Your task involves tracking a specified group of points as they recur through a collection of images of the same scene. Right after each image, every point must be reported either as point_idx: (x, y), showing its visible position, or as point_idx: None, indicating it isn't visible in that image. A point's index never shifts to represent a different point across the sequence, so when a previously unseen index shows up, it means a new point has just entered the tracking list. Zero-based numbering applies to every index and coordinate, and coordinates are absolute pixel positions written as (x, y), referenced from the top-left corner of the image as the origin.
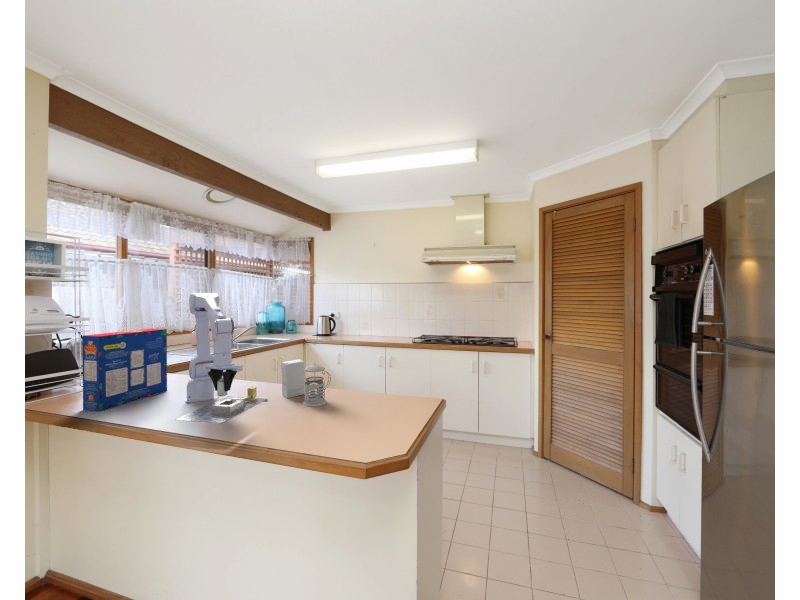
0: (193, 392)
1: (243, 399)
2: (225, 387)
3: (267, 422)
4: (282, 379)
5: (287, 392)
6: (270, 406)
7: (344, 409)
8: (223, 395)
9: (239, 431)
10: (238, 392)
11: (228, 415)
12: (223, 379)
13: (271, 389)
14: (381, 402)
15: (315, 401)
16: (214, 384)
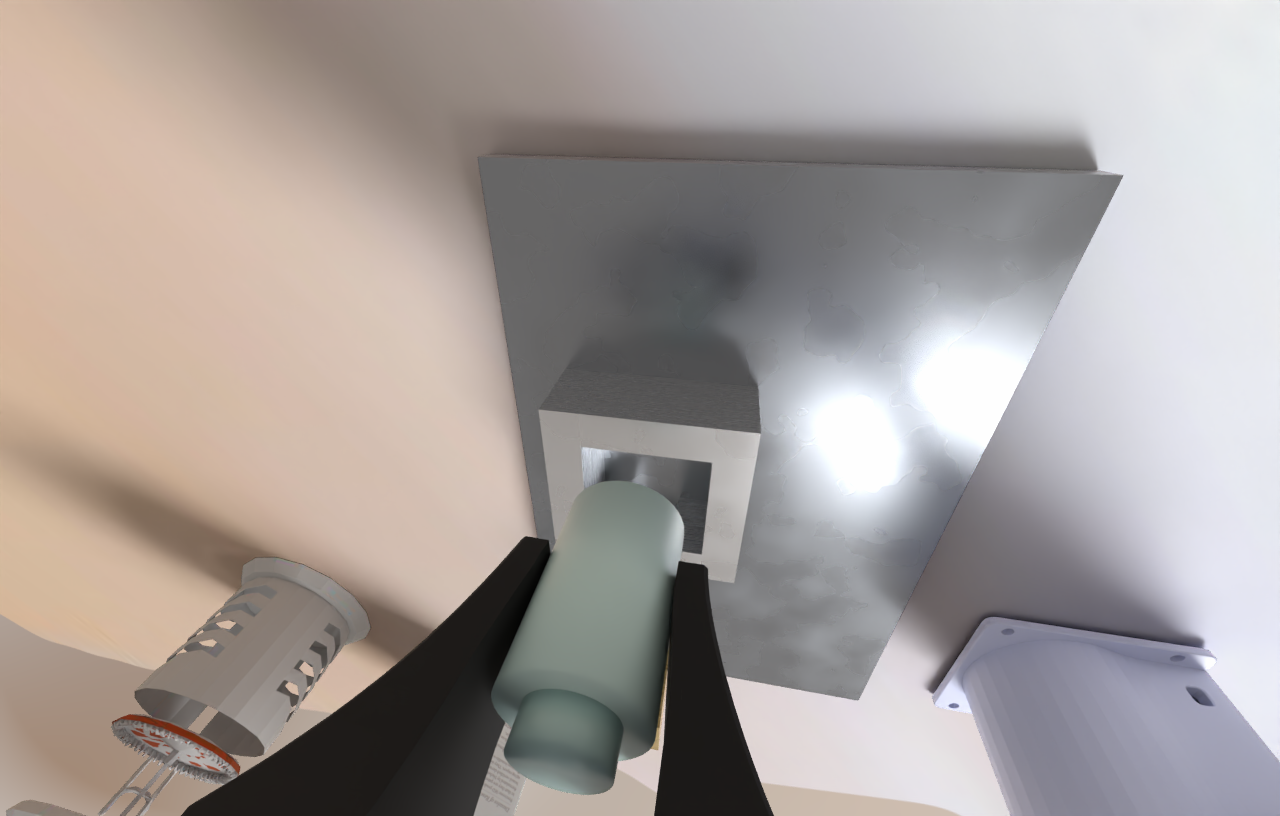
0: (1184, 737)
1: None
2: (496, 577)
3: (243, 303)
4: (503, 806)
5: None
6: (476, 561)
7: (95, 520)
8: (579, 495)
9: (242, 60)
10: (846, 755)
11: (573, 360)
12: (433, 714)
13: None
14: (61, 591)
15: (244, 587)
16: (695, 648)
